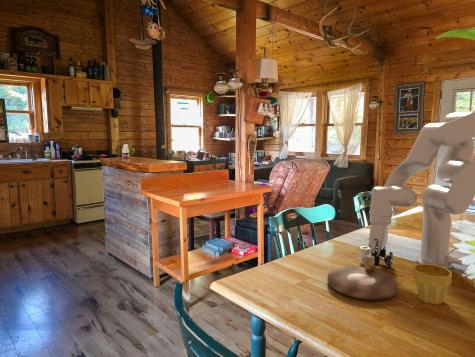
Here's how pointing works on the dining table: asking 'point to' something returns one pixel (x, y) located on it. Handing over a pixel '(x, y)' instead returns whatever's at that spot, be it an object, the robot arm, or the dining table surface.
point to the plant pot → (432, 282)
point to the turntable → (362, 281)
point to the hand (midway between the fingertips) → (377, 261)
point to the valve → (386, 259)
